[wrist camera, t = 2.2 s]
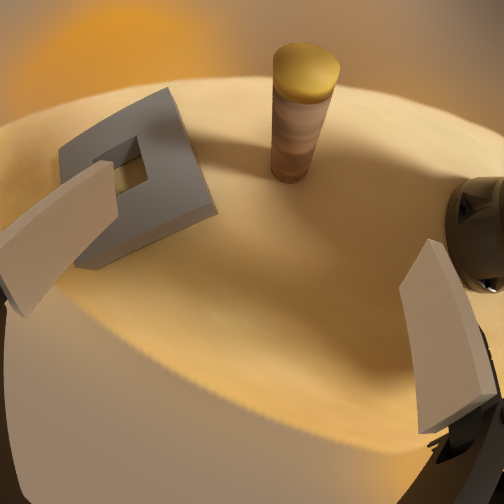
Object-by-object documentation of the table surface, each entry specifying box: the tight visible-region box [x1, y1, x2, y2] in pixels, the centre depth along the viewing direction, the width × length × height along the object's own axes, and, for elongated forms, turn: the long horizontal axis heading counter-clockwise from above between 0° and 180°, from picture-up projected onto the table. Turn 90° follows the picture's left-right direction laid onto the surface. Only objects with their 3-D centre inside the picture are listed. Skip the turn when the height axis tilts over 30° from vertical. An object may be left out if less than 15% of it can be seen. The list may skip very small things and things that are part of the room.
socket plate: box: [59, 87, 218, 270], centre depth 28 cm, size 16×16×4 cm
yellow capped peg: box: [271, 43, 340, 183], centre depth 21 cm, size 4×4×16 cm
